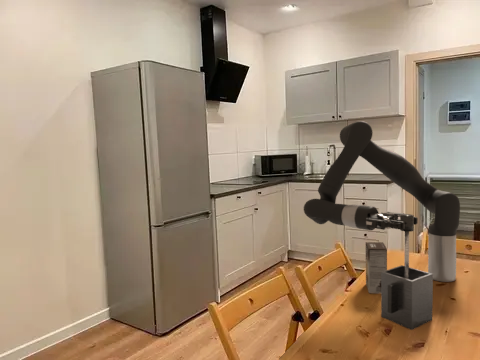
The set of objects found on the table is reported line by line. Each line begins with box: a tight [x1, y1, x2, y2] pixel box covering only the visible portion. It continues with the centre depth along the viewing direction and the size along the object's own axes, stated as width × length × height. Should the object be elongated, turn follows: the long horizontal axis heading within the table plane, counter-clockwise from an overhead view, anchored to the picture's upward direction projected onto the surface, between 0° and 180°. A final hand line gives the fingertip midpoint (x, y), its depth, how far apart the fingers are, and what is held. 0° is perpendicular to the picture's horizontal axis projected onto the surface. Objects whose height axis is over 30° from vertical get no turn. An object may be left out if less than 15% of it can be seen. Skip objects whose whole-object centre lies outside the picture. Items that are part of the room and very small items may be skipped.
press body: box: [380, 264, 434, 331], centre depth 110 cm, size 13×10×14 cm
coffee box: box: [365, 241, 388, 294], centre depth 134 cm, size 9×6×16 cm
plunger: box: [399, 213, 415, 280], centre depth 110 cm, size 8×8×21 cm
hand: (410, 223), depth 108 cm, fingers open, 8 cm apart
